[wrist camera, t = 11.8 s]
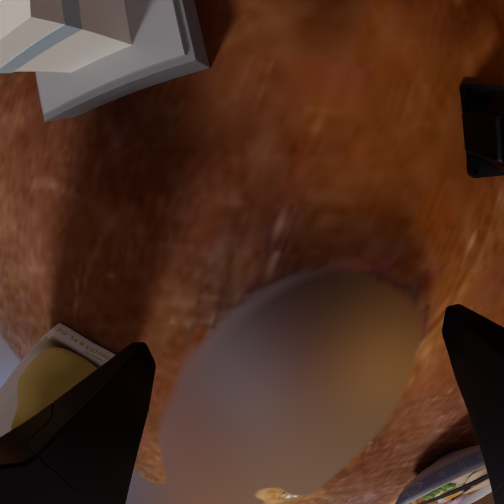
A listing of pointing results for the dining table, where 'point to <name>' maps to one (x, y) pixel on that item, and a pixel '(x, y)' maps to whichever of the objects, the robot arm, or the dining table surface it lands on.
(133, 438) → the robot arm
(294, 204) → the dining table surface
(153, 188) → the dining table surface
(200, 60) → the display podium
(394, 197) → the dining table surface
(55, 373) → the juice carton
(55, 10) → the carton
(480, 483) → the ramen bowl
